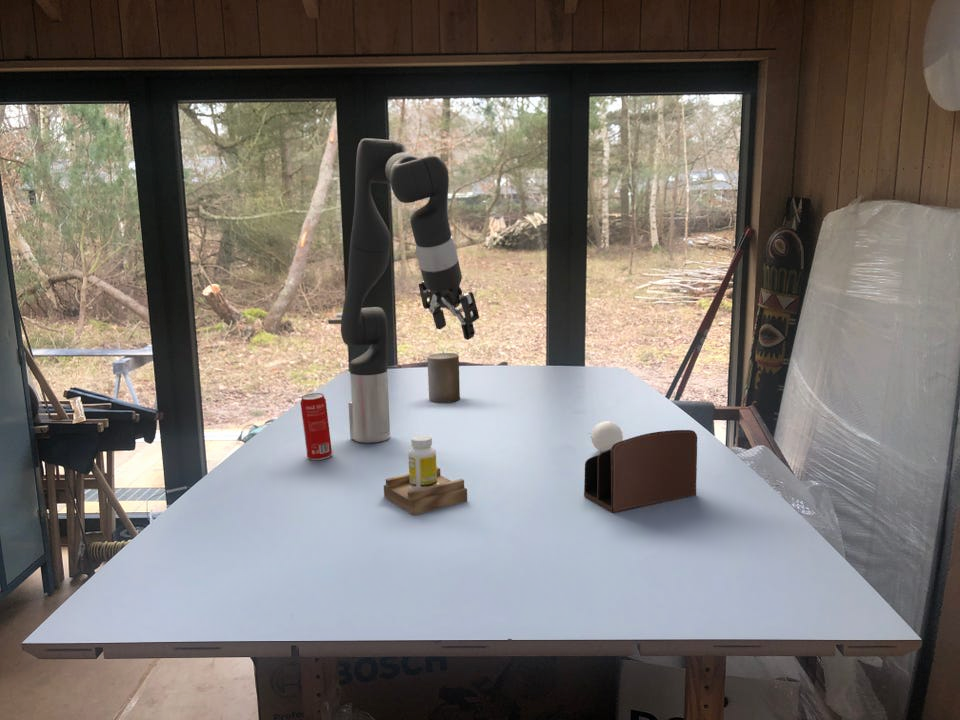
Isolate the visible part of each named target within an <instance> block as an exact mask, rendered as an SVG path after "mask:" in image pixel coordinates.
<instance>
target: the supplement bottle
mask: <svg viewBox="0 0 960 720" xmlns="http://www.w3.org/2000/svg"><path fill="white" fill-rule="evenodd" d="M432 437H433V436H430V435H427V434H426V435H425V434H423V435H421V434H420V435H415V436H413V437H411V441H410V443H411V447H412V448H410V449H409V450H408V455H407V456H408V474H409V480H410V487H411V488H413V489H417V490H418V489H422V488H426V487H430V486H434V485H437V467H438V466H437V451H436V449H435V448H434V447H433V446H432V445H433V438H432Z"/></svg>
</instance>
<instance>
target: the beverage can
mask: <svg viewBox="0 0 960 720" xmlns="http://www.w3.org/2000/svg"><path fill="white" fill-rule="evenodd" d="M300 399H301V400H300V409H301V411H300V412H301V418H302V426H303V433H304V440H305V449H306V457H307V458H308V459H309V460H311V461H320V460H325V459H328V458H330V457H331V456H332V455H333V454H332V453H333V451H332V442H331V440H332V439H331V434H330V426H329V425H330V424H329V415H328V408H327V399H326V397H325V395H324V394H323V393H321V392H320V393H319V392H314V393H313V392H312V393H308V394H304V395H303V396H301V398H300Z"/></svg>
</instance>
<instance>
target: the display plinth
mask: <svg viewBox="0 0 960 720" xmlns="http://www.w3.org/2000/svg"><path fill="white" fill-rule="evenodd" d="M436 467H437V485H434V486H430V487H426V488H422V489H418V490H417V489H413V488H411V487H410V480H409V473H407V474H403V475H399V476H394V477H393V476H392V477H390V478H386V479H385V484H384V485H383V497H384V498H385V499H387V500H388V501H390V502H391V503H393V504H395V505H397V506H398V507H399V508H401V509H403V510H404V511H406V512H407V513H409V514H410V515H412V516H416V515H421V514H424V513H427V512H431V511H436V510H439V509H443V508H446V507H451V506H454V505H458V504H461V503H465V502H468V488H466V487H465V480H464V479H463V478H459V479H456V480H455V479H454V480H450V479H449V478H447V477H444V476H442V475H441V468H440V467H438V466H436Z"/></svg>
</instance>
